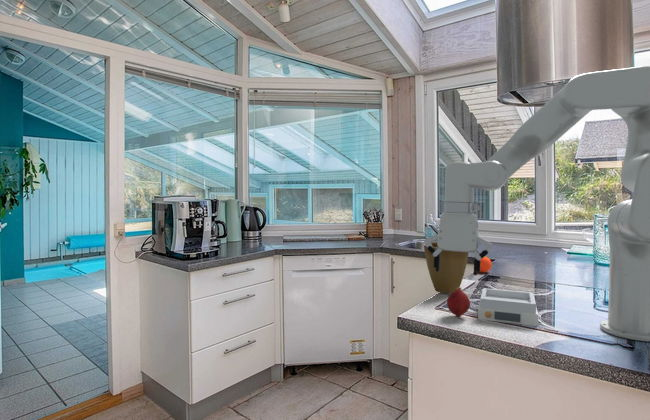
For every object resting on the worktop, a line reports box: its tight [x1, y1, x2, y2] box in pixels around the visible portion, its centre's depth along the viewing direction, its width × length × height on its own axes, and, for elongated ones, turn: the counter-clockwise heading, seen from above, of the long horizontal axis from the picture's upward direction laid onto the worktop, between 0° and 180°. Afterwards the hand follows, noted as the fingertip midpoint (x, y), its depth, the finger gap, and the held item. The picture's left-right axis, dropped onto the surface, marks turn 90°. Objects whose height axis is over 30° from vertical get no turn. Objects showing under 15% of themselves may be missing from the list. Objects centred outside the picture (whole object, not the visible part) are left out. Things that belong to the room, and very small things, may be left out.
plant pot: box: [423, 242, 470, 295], centre depth 134 cm, size 15×15×16 cm
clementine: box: [479, 255, 493, 274], centre depth 168 cm, size 8×7×7 cm
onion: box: [446, 286, 471, 318], centre depth 106 cm, size 6×6×8 cm
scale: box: [477, 287, 539, 327], centre depth 107 cm, size 14×14×5 cm
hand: (456, 272), depth 106 cm, fingers open, 9 cm apart
